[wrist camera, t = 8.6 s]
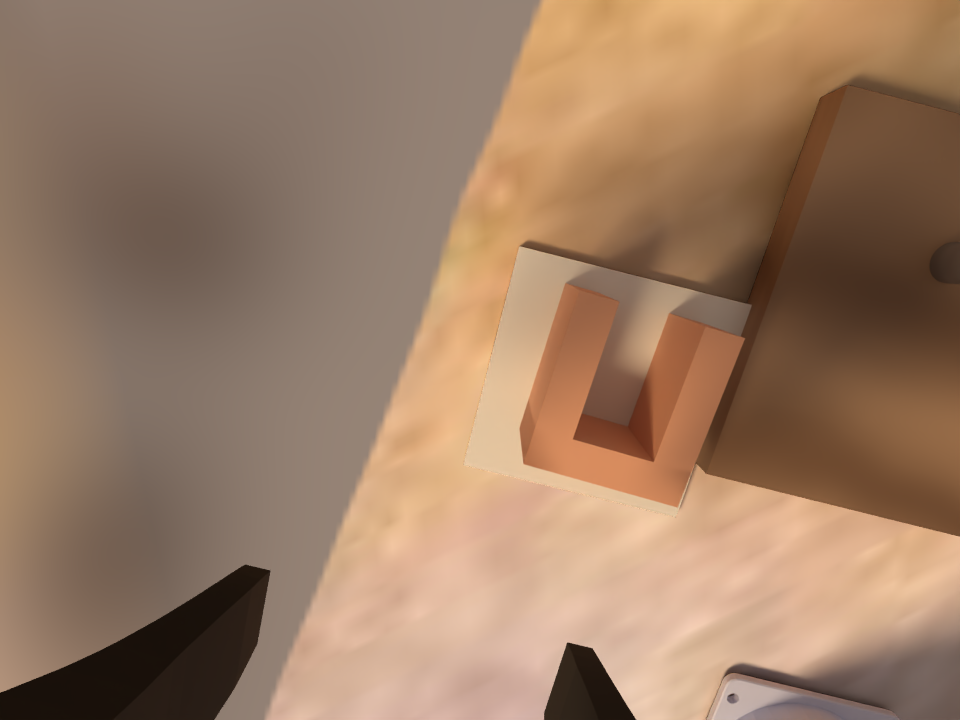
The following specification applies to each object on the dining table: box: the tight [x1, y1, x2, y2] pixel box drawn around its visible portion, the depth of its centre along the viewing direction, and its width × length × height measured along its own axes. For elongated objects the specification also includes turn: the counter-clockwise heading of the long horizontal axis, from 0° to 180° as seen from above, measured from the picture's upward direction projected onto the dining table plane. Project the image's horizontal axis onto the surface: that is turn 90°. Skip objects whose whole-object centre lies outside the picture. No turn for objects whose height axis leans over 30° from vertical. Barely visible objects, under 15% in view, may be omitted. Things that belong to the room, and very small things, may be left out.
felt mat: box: [463, 246, 752, 517], centre depth 21 cm, size 9×9×1 cm
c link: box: [519, 283, 745, 508], centre depth 19 cm, size 6×5×4 cm
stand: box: [696, 85, 960, 536], centre depth 17 cm, size 14×11×6 cm
